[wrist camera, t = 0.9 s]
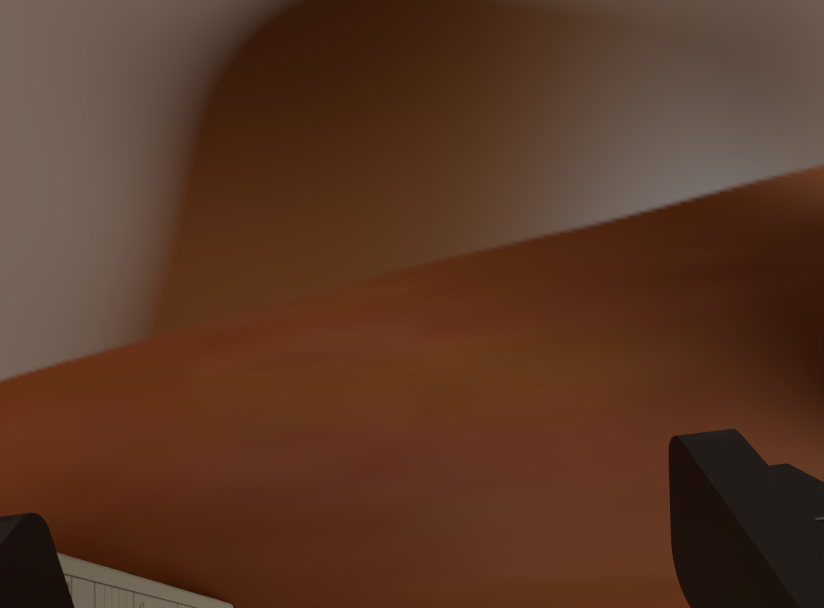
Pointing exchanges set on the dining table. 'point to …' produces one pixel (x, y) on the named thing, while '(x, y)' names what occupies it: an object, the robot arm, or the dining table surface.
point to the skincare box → (125, 589)
